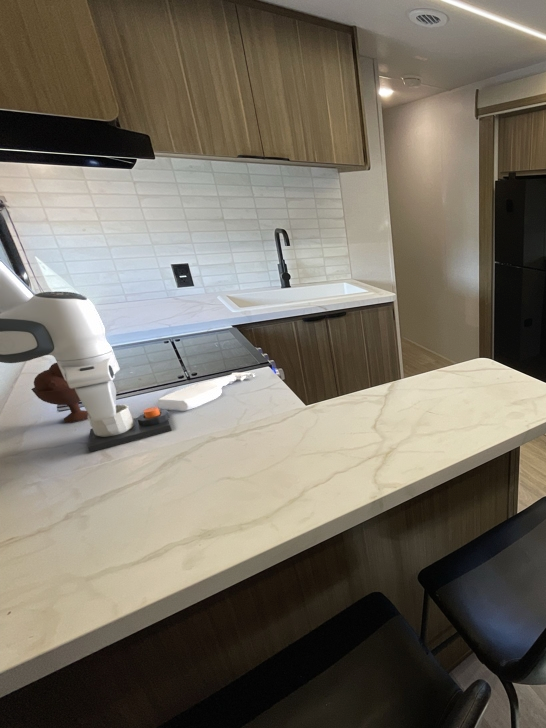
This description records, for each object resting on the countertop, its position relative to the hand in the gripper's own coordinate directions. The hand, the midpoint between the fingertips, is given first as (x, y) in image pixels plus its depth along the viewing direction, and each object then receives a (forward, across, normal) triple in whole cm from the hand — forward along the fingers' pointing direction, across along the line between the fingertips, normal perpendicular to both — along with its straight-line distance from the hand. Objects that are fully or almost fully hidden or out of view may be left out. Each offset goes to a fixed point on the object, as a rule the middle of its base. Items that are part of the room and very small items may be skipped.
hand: (113, 423), depth 92 cm
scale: (+3, 0, +2) cm, 4 cm away
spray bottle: (+3, -15, +20) cm, 26 cm away
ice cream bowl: (+3, -20, -8) cm, 22 cm away
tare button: (+1, 0, +7) cm, 7 cm away
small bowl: (+2, 0, 0) cm, 2 cm away
